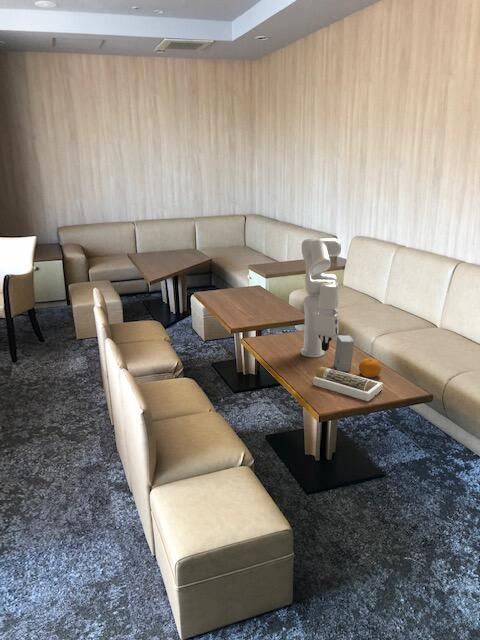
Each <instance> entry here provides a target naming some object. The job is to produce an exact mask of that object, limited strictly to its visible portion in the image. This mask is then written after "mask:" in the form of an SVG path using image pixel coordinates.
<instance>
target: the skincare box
mask: <svg viewBox="0 0 480 640" xmlns="http://www.w3.org/2000/svg"><path fill="white" fill-rule="evenodd" d="M354 346H355V341H354V339H353V338H352V336H350V335H341V334H340V335H339V334H338V335H337V339H336V344H335V353H334V361H333V366H334V367H335V370H337V371H341V372H350V371H351V370H352V362H353V361H352V360H353V355H354V354H353V353H354Z"/></svg>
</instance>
